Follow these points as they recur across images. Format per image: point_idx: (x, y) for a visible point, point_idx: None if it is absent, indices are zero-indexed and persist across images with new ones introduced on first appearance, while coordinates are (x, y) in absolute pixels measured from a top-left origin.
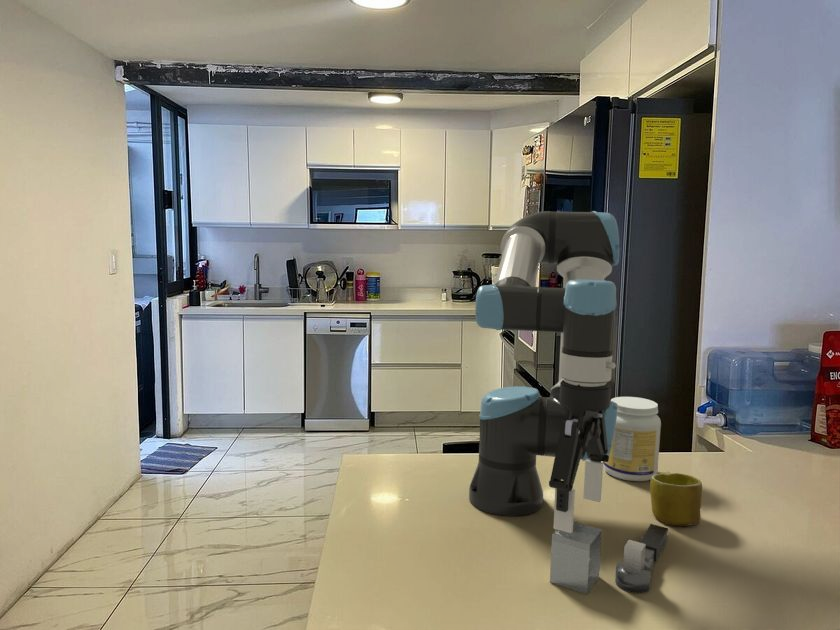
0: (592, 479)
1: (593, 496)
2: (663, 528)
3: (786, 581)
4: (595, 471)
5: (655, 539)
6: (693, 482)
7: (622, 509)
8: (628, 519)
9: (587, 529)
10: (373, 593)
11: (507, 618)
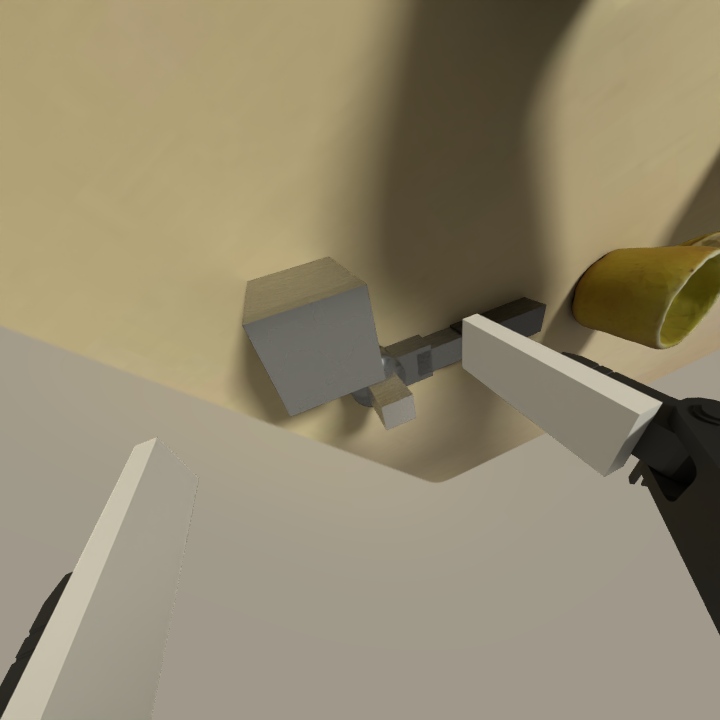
0: (526, 388)
1: (473, 357)
2: (536, 327)
3: (487, 438)
4: (563, 423)
5: None
6: (687, 315)
7: (613, 194)
8: (575, 230)
9: (361, 359)
10: None
11: (26, 320)
